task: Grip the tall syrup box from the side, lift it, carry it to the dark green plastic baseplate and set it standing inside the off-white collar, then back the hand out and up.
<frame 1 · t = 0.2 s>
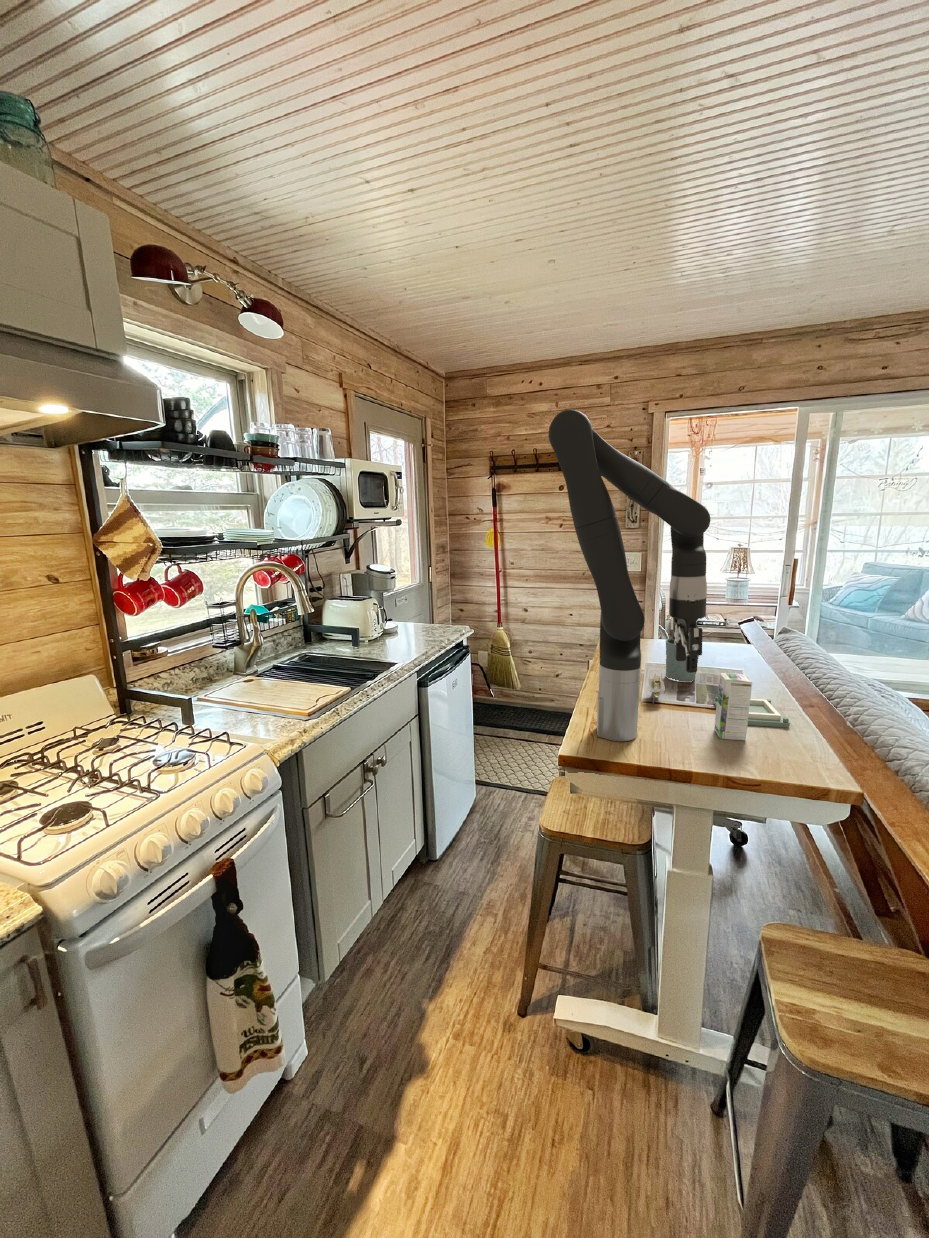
hand: (685, 666, 118), 18 cm above the table, tool pointing down, fingers open, 8 cm apart
grey-green cup: (680, 678, 165), on the table
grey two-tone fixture: (655, 702, 147), on the table
syrup box: (729, 735, 124), on the table
baseplate: (749, 714, 135), on the table
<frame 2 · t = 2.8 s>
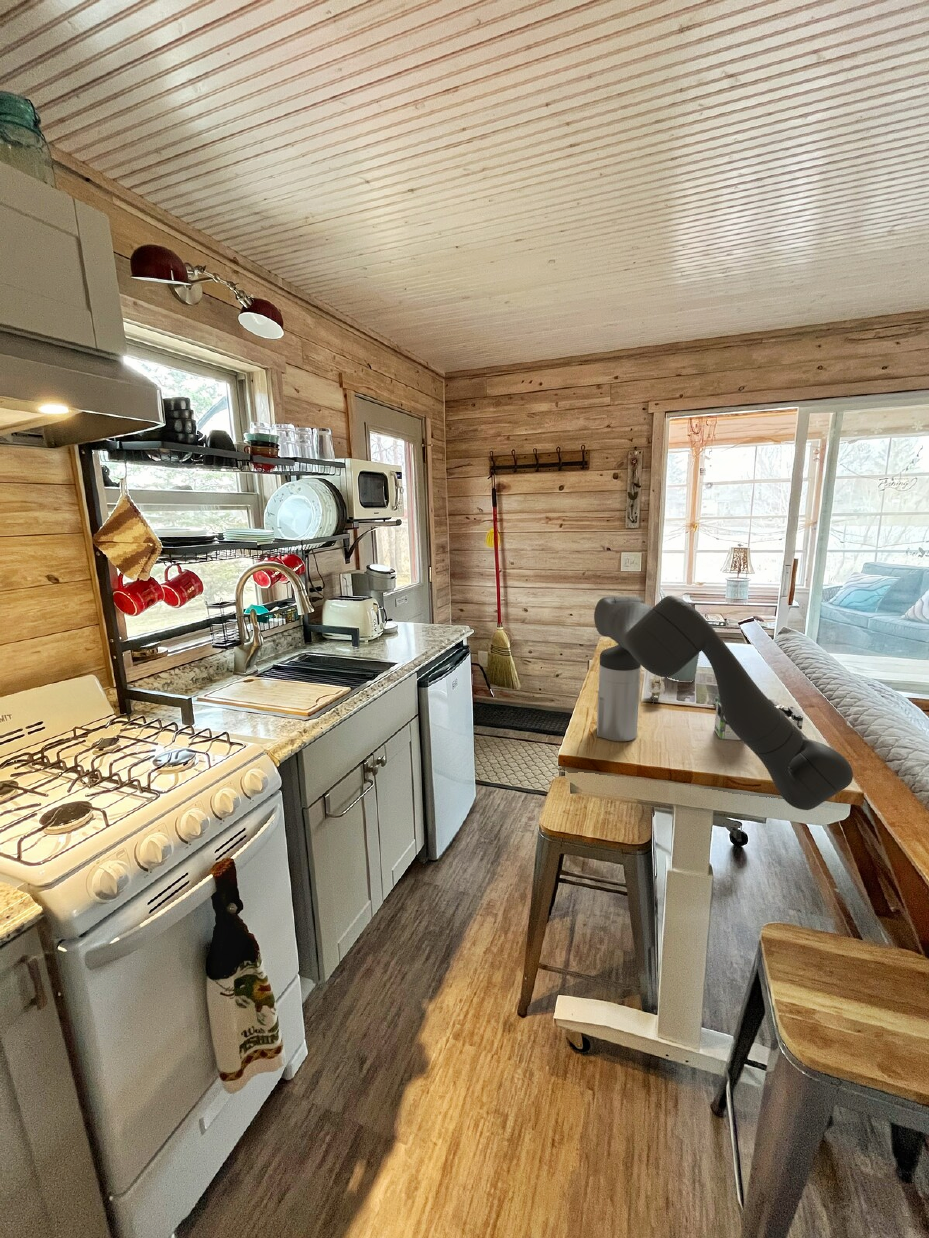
hand: (748, 702, 111), 12 cm above the table, tool horizontal, fingers open, 8 cm apart
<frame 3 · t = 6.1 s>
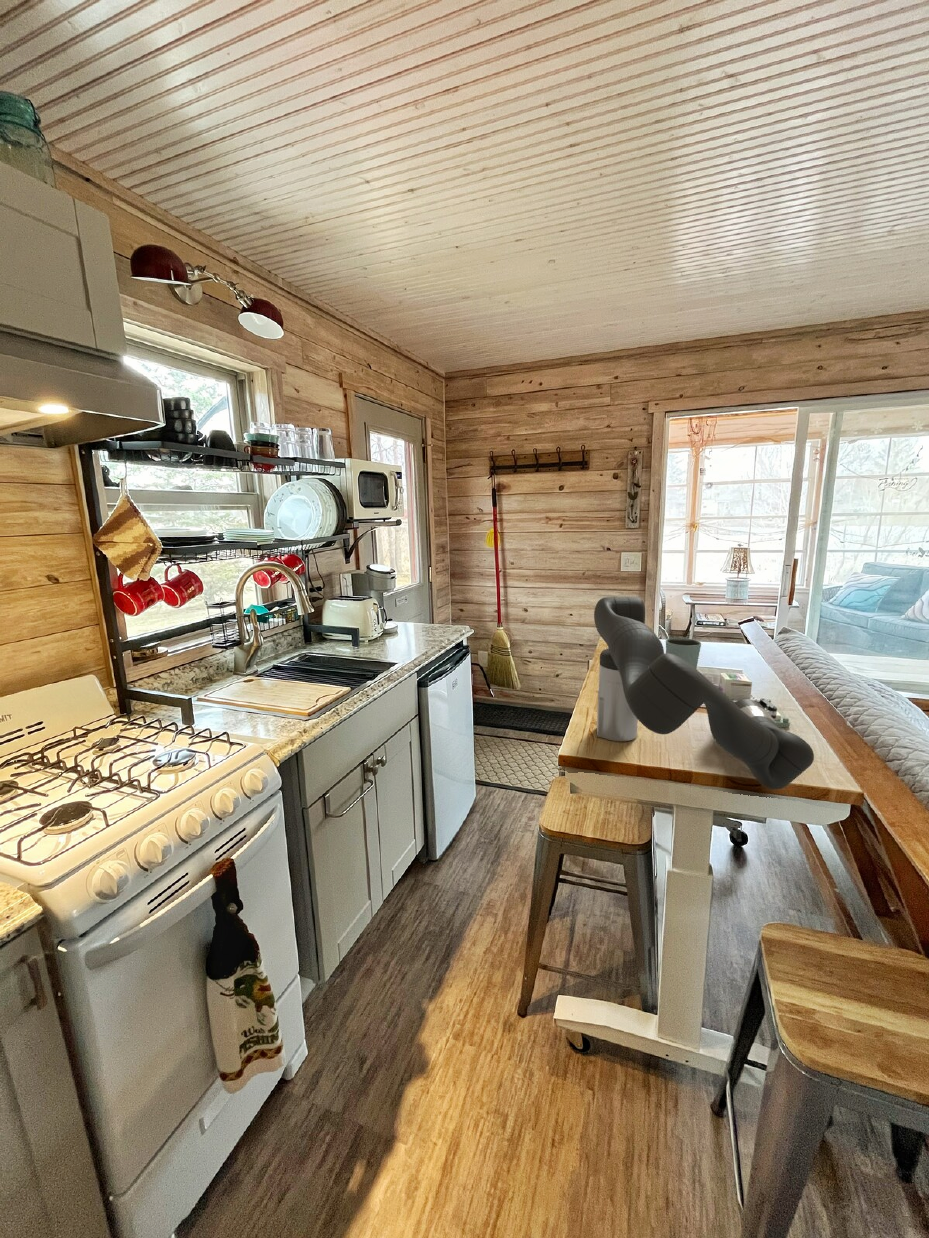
hand: (730, 695, 124), 9 cm above the table, tool horizontal, fingers closed on syrup box, 6 cm apart
syrup box: (729, 735, 124), on the table, touching gripper
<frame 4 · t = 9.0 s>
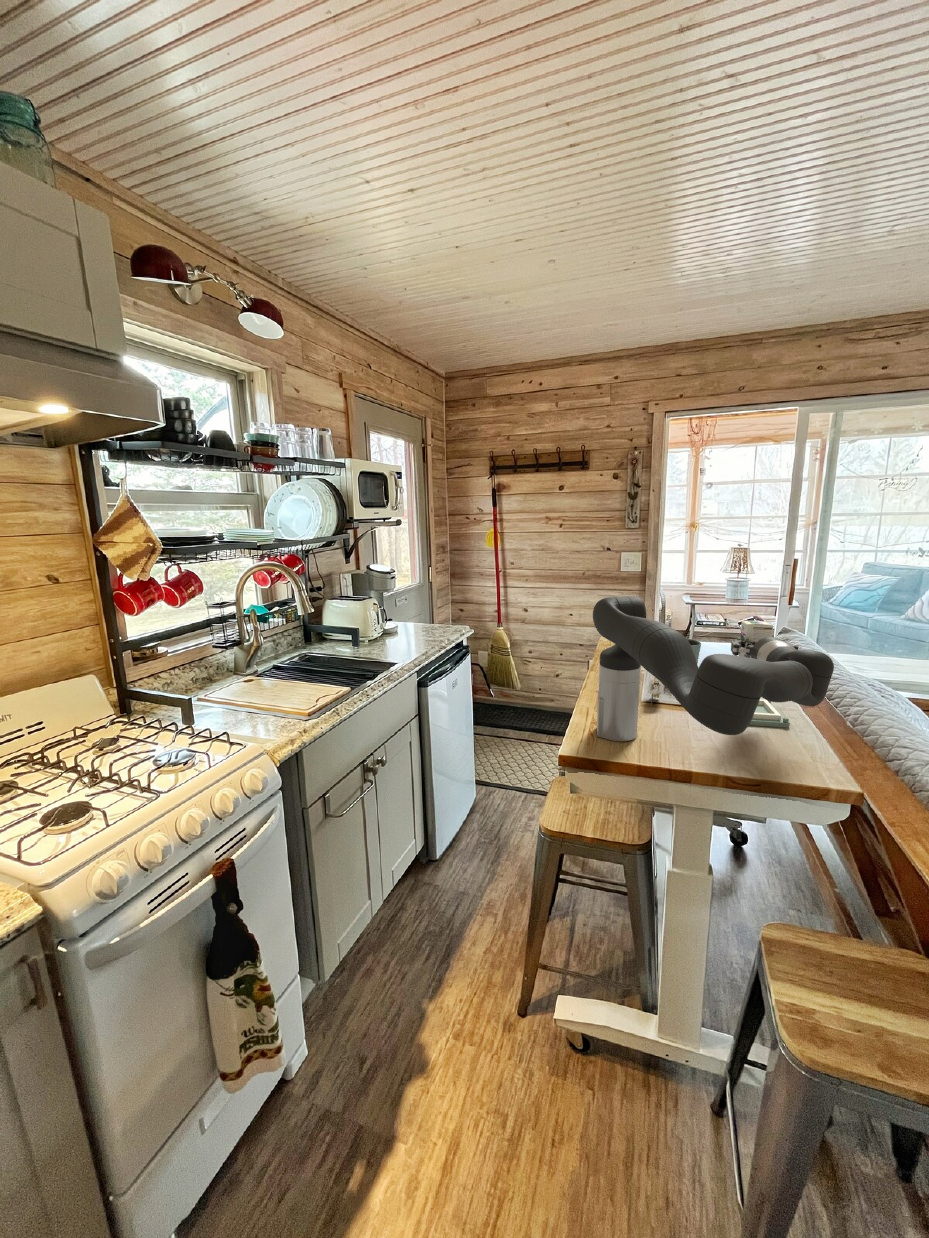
hand: (752, 642, 130), 20 cm above the table, tool horizontal, fingers closed on syrup box, 6 cm apart
syrup box: (752, 680, 129), point 11 cm above the table, touching gripper
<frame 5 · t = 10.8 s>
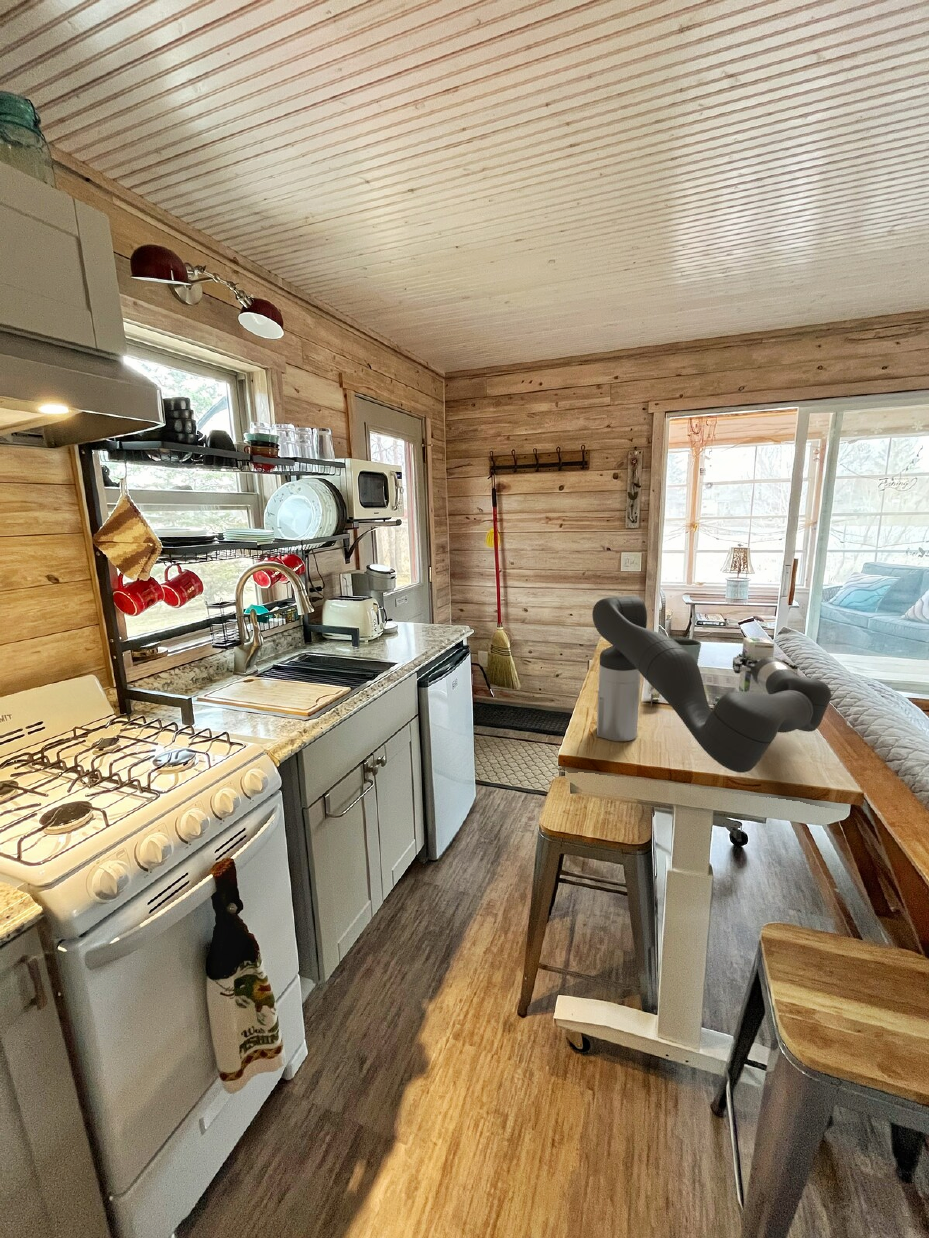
hand: (753, 658, 134), 15 cm above the table, tool horizontal, fingers closed on syrup box, 6 cm apart
syrup box: (753, 695, 134), point 5 cm above the table, touching gripper
when the fingers open (12 cm above the table, at t = 12.0 s): syrup box drops 1 cm, resting on baseplate.
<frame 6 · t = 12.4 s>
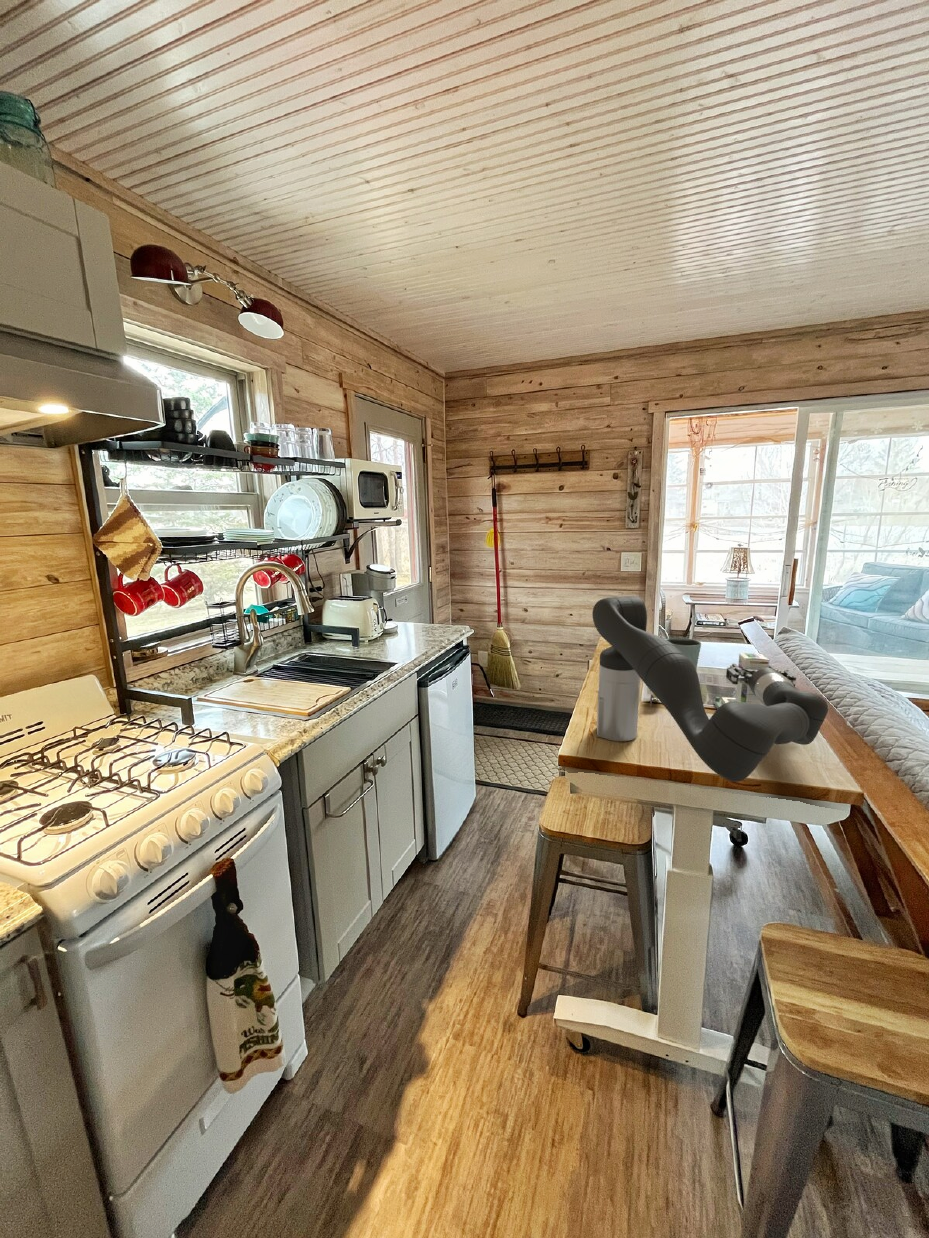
hand: (751, 668, 135), 12 cm above the table, tool horizontal, fingers open, 8 cm apart
syrup box: (749, 710, 135), point 1 cm above the table, touching baseplate
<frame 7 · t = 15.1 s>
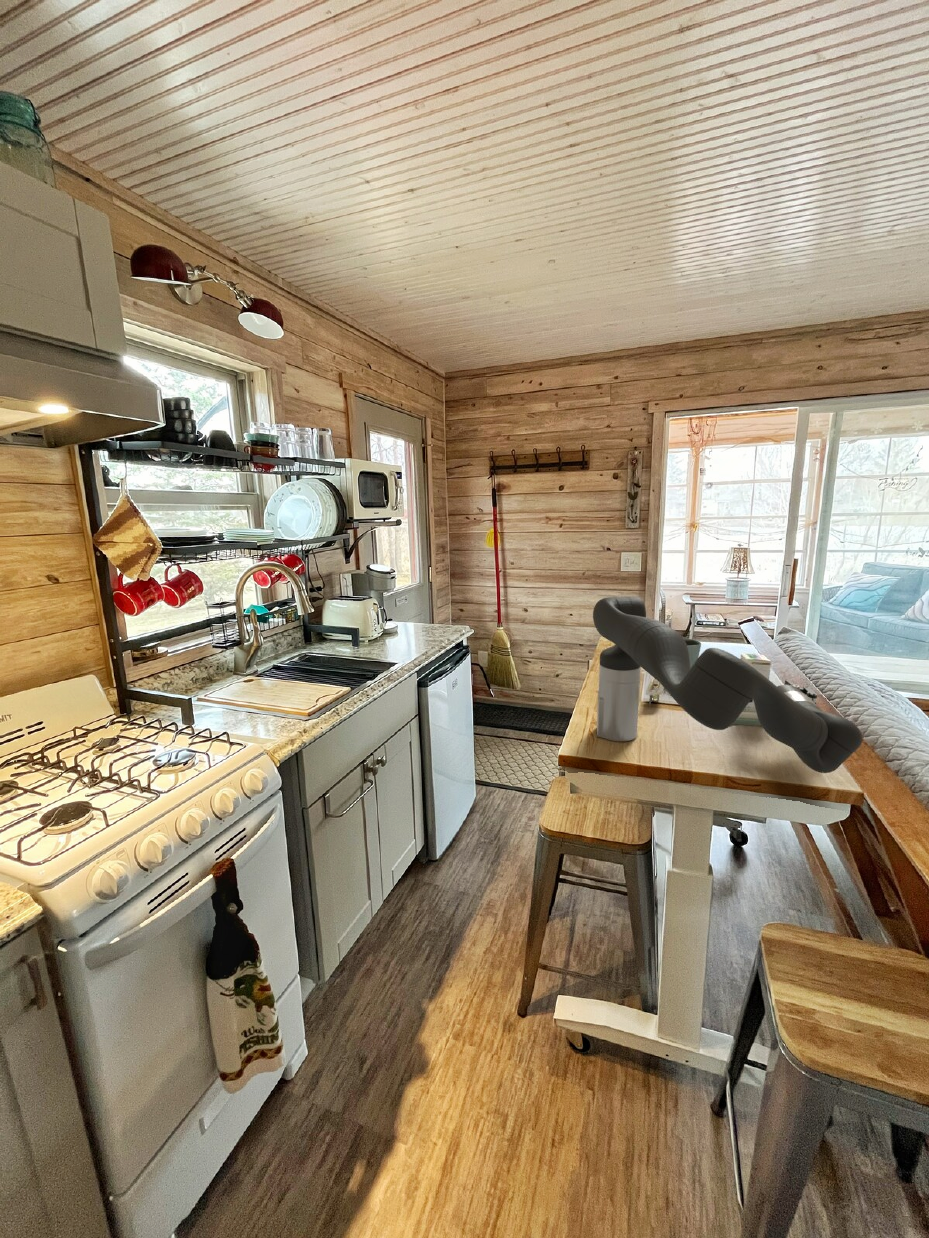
hand: (766, 683, 123), 12 cm above the table, tool horizontal, fingers open, 8 cm apart
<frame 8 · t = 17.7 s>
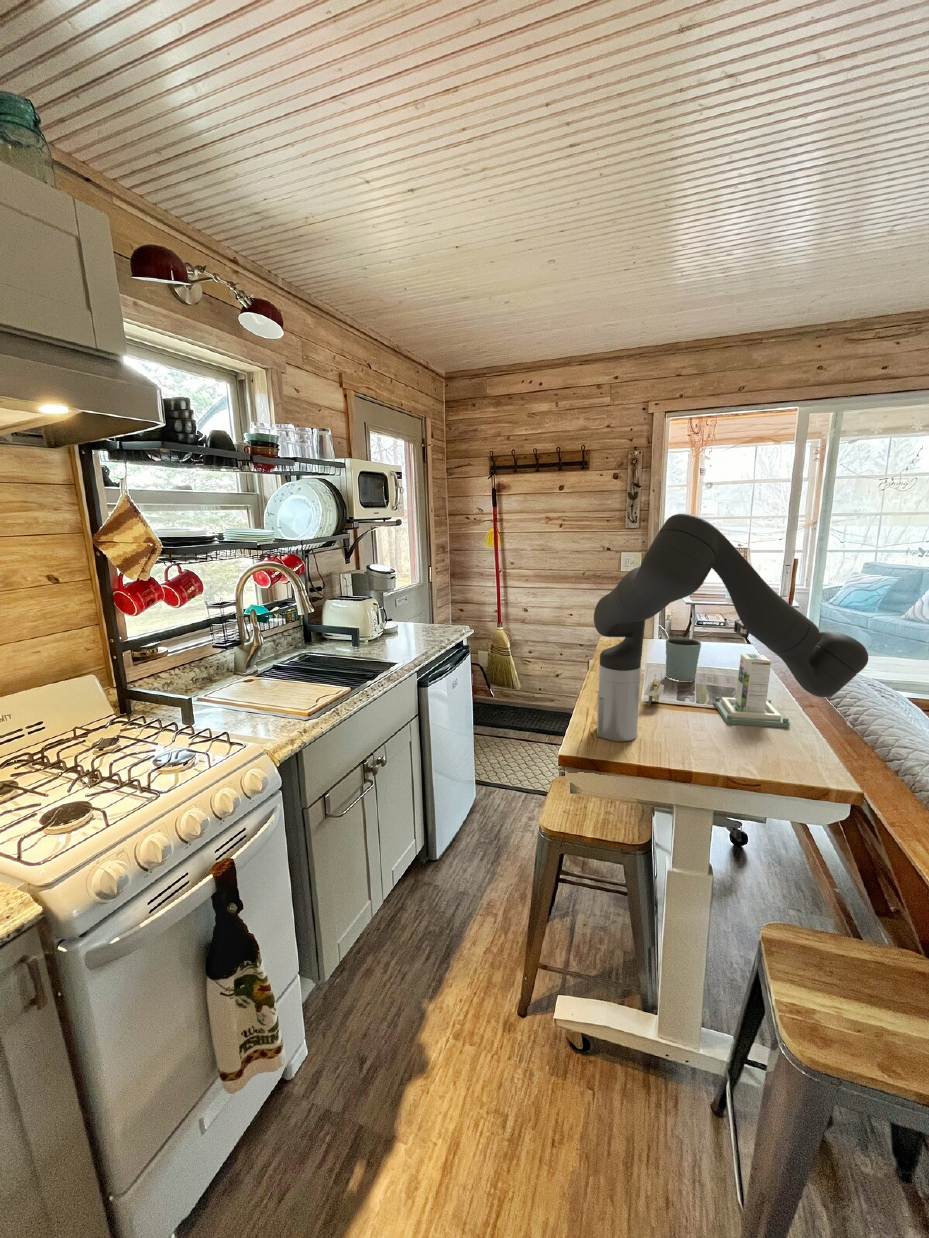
hand: (763, 621, 115), 28 cm above the table, tool horizontal, fingers open, 8 cm apart
at the end: syrup box 0.1 cm off-centre on the baseplate, point 1.0 cm above the baseplate's base; syrup box tilted 0°; the gripper is holding nothing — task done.
